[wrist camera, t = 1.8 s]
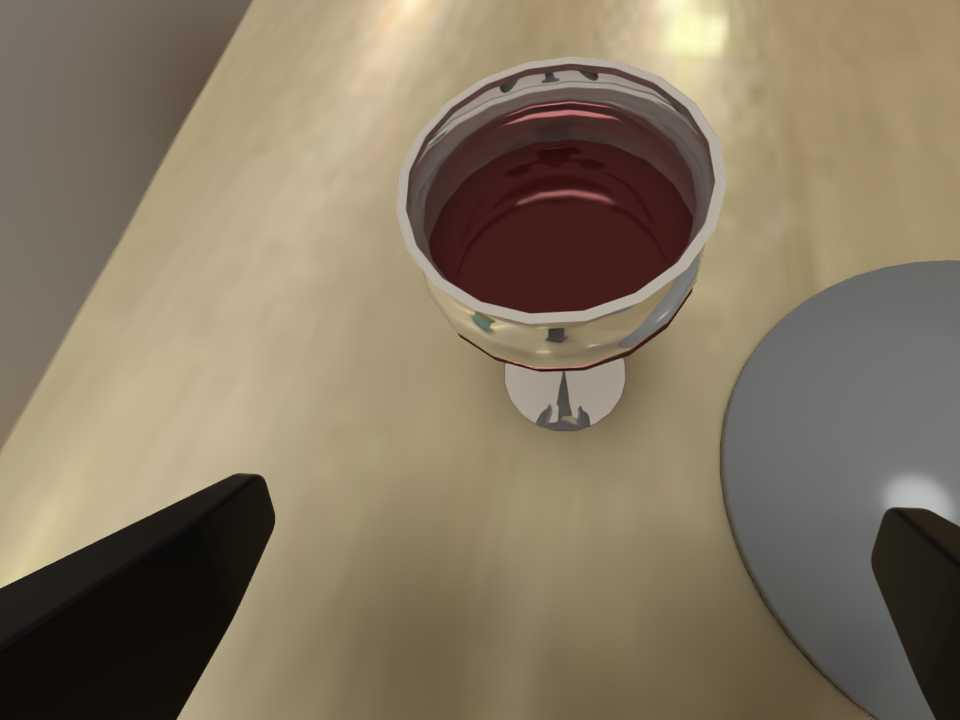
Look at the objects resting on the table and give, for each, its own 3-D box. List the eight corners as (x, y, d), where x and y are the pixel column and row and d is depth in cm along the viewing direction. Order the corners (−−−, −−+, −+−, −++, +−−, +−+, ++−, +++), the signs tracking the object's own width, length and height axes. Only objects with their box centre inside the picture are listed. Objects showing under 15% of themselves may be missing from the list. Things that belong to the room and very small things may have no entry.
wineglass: (527, 278, 24) (485, 29, 12) (674, 335, 21) (780, 94, 10) (455, 409, 22) (333, 254, 11) (607, 483, 20) (648, 386, 9)
